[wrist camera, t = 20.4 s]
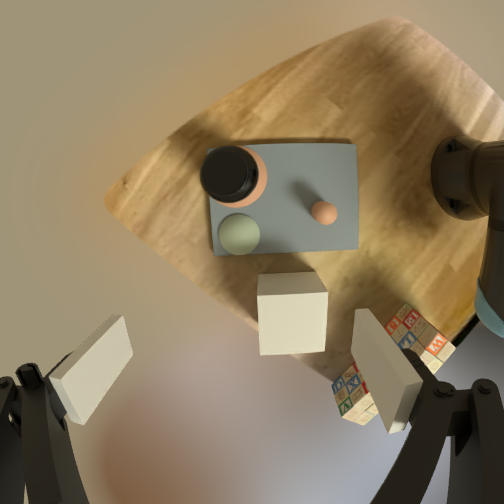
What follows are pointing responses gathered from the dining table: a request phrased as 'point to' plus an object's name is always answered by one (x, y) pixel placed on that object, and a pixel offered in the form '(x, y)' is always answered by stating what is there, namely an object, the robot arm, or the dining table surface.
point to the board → (293, 202)
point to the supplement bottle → (229, 174)
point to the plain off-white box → (291, 313)
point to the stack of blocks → (405, 336)
